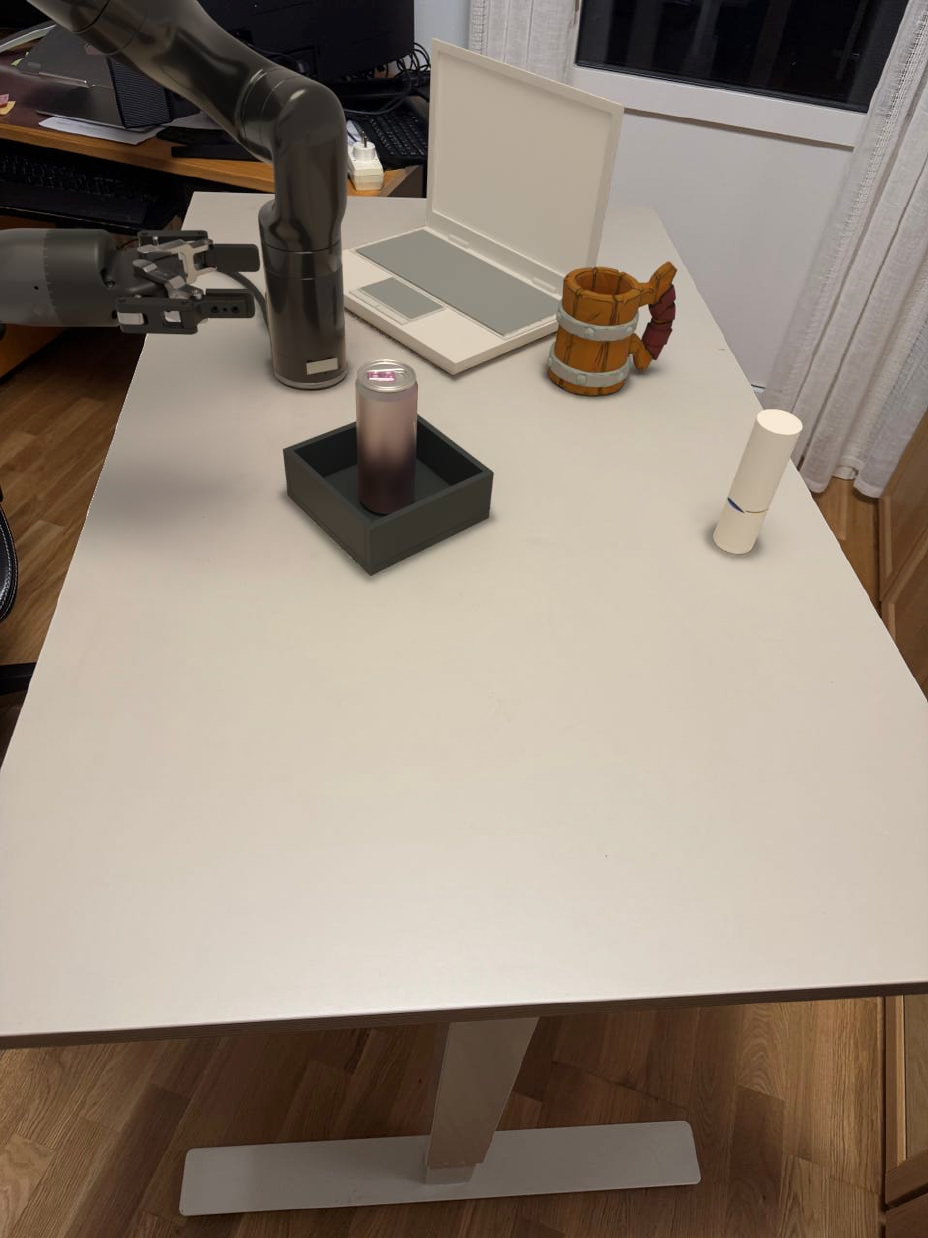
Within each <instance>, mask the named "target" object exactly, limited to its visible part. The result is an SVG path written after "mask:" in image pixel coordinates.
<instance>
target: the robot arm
mask: <svg viewBox="0 0 928 1238" xmlns="http://www.w3.org/2000/svg"><path fill="white" fill-rule="evenodd" d="M26 1H27V2H28V3H29V4H31V5H32V6H34V7H35V8H36V9H38V10H39V11H40V12H42V13H43V14H44V15H46V16H47V17H48V18H50V19H51V20H52V21H54V22H55V23H57V24H58V25H59V26H61V27H62V28H64V29H65V30H67V31H68V32H70V33H71V34H73V36H75V37H77V38H79V39H80V40H81V41H83V42H84V43H85V44H88V45H89V46H90V47H92V48H93V49H95V50H96V51H98V52H100V53H101V54H102V55H104V56H106V57H107V58H109V59H110V60H112V61H114V62H115V63H117V64H118V65H121V66H122V67H124V68H126V69H127V70H129V71H131V72H133V73H134V74H137V75H138V76H139V77H141V78H144V79H146V80H148V81H150V82H151V83H154V84H156V85H158V86H160V87H162V88H164V89H167V90H168V91H171V92H173V93H175V94H176V95H178V96H181V97H183V98H184V99H185V100H187V102H189V103H191V104H192V105H194V106H195V107H196V108H197V109H199V110H200V111H201V112H202V113H203V114H204V115H206V116H207V117H208V118H210V120H211V121H213V122H214V123H216V124H217V125H218V126H219V127H221V128H222V129H223V130H224V131H225V132H226V133H227V134H229V135H230V136H231V137H232V138H233V139H234V140H235V141H236V142H238V143H239V144H240V145H241V146H242V147H243V148H244V149H245V150H246V151H248V153H250V154H251V155H252V156H254V157H255V158H256V159H257V160H259V161H261V162H263V163H264V164H266V165H268V166H270V167H271V168H273V185H274V189H273V190H274V198H273V199H271V200H269V201H267V202H265V203H264V204H263V205H262V206H261V207H260V208H259V210H258V213H257V214H258V215H257V223H258V224H257V225H258V231H259V233H258V234H259V241H260V250H261V257H260V250H259V247H258V246H257V244H255V243H216V242H215V243H214V240H213V239H211V238H209V234H208V231H207V230H204V229H179V230H177V229H173V230H170V229H169V230H168V229H167V230H160V229H159V230H140V231H138V232H137V233H136V235H137V238H138V245H139V246H138V247H133V248H125V249H123V248H121V247H120V246H118V244H117V243H116V241H115V239H114V236H113V235H112V234H111V233H110V232H108V231H107V230H105V229H101V228H39V227H38V228H36V227H35V228H34V227H32V228H31V227H28V228H27V227H22V228H21V227H19V228H9V229H2V230H1V229H0V324H3V325H4V324H8V325H9V324H10V325H19V326H26V327H42V328H43V327H44V328H45V327H47V328H48V327H50V328H51V327H53V328H56V327H57V328H60V327H61V328H62V327H63V328H64V327H65V328H79V327H81V328H87V327H88V328H93V327H95V328H96V327H101V328H103V327H104V328H105V327H106V328H109V327H110V328H111V327H112V328H113V327H114V328H115V327H118V326H120V331H121V332H122V333H125V334H146V335H147V334H149V335H150V334H151V335H152V334H153V335H185V336H191V335H195V334H197V333H198V332H199V328H198V326H199V325H201V324H207V323H208V322H209V319H253V318H254V317H255V315H256V303H255V302H256V301H255V297H256V299H257V301H258V302H259V304H260V308H261V310H262V311H261V312H262V314H263V315H262V316H263V319H264V322H265V324H266V325H267V327H268V328H267V329H268V338H269V345H270V355H271V362H272V368H273V369H272V370H273V374H274V376H275V378H276V379H277V380H278V381H279V382H280V383H282V384H284V385H287V386H288V387H291V388H296V389H301V390H317V389H318V390H319V389H324V388H328V387H332V386H335V385H337V384H338V383H340V382H341V381H342V380H344V378H345V377H346V376H347V373H348V362H347V346H346V345H347V344H346V343H347V342H346V339H347V338H346V320H345V319H346V317H345V315H346V314H345V307H344V289H343V264H342V251H343V249H342V248H343V245H342V243H343V242H342V223H343V220H344V218H345V214H346V211H347V210H346V209H347V207H348V185H349V184H348V182H349V181H348V178H349V177H348V175H349V174H348V173H349V169H348V168H349V138H348V137H349V136H348V126H347V120H346V115H345V112H344V108H343V106H342V103H341V102H340V100H339V98H338V97H337V95H336V94H335V93H334V91H332V90H331V89H330V88H329V87H327V86H326V85H324V84H322V83H320V82H318V81H316V80H314V79H311V78H309V77H307V76H305V75H302V74H300V73H298V72H295V71H294V70H291V69H289V68H287V67H284V66H282V65H280V64H277V63H275V62H274V61H271V60H270V59H268V58H267V57H265V56H263V55H262V54H259V52H257V51H255V50H253V49H251V48H250V47H249V46H247V45H246V44H245V43H243V42H242V41H240V40H239V39H237V38H236V37H234V36H233V35H231V34H230V33H228V31H226V30H225V29H224V28H222V27H221V26H220V25H218V23H217V22H216V21H215V20H213V19H212V18H211V16H209V14H208V13H207V12H206V10H205V9H204V8H203V7H202V5H201V4H200V2H199V1H198V0H26ZM260 258H261V259H260ZM261 260H262V267H263V277H264V286H265V292H264V295H263V294H262V292H261V291H260V290H259V288H258V287H257V286H256V285H255V284H254V283H253V282H252V281H251V280H250V279H249V278H247V277H246V276H245V275H244V274H242V273H258V272H259V271H260V269H261ZM215 271H217V272H218V273H226V274H229V275H230V276H232V277H233V278H236V279H237V280H238V281H240V282H241V283H242V284H244V285H245V286H246V288H211V287H209V288H205V291H204V289H203V288H200V287H197V286H194V285H192V284H195V283H196V282H197V280H198V277H200V276H203V275H206V274H209V273H213V272H215ZM167 318H168V319H171V320H173V321H169V320H167Z"/></svg>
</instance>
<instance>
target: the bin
mask: <svg viewBox="0 0 928 1238" xmlns="http://www.w3.org/2000/svg"><path fill="white" fill-rule="evenodd" d="M282 456H283V465H284V474H285V483H286V493H287V496H288V497H289V498H290V499H291V500H292V501H293V502H294V503H295V504H297V505H298V507H300V509H301V510H302V511H304V512H305V513H306V515H308V516H309V517H310V518H311V520H313V521H314V523H316V524H317V525H318V526H319V527H320V528H321V529H322V530H323V531H324V532H326V534H327V535H328V536H330V538H331V539H333V540H334V541H335V542H336V543H337V544H338V545H339V546H340V547H341V549H343V550H344V551H345V552H346V553H347V554H348V555H349V556H350V557H351V558H352V559H353V560H354V561H355V562H356V563H357V564H358V565H359V566H360V567H361V568H362V569H363V570H364V571H366V572H367V574H368V575H370V576H372V575H374V574H376V573H379V572H381V571H382V570H384V569H386V568H389V567H390V566H393V565H395V564H397V563H399V562H401V561H404V560H405V559H407V558H409V557H411V556H413V555H416V554H417V553H419V552H421V551H423V550H426V549H427V548H430V547H431V546H434V545H436V544H437V543H440V542H442V541H444V540H446V539H448V538H450V537H453V536H454V535H456V534H458V533H460V532H462V531H464V530H467V529H468V528H471V527H472V526H474V525H476V524H478V523H479V524H480V523H481V522H482V521H485V520H487V519H489V518H490V512H491V503H492V494H493V485H494V476H495V475H494V474H495V473H494V471H493V470H492V469H490V468H489V467H488V466H486V465H485V464H484V463H482V462H481V461H480V460H479V459H478V458H476V457H475V456H473V455H472V454H471V453H469V452H468V451H467V450H465V448H463V447H462V446H461V445H459V444H458V443H456V442H455V441H454V440H452V439H451V438H450V437H448V436H447V435H446V434H445V433H443V432H442V431H441V430H440V429H438V427H436V426H434V425H433V424H432V423H430V422H429V421H428V420H426V419H425V418H424V417H422V416H421V415H420V414H419V413H417V437H416V470H415V497H414V500H413V502H412V503H411V504H410V505H409V506H406V507H404V508H402V509H400V510H398V511H395V512H393V513H391V514H389V515H384V514H378V513H375V512H372V511H371V510H369V509H367V508H366V507H365V506H364V505H363V503H362V502H361V500H360V498H359V490H358V458H357V426H356V420H355V421H353V422H350V423H347V424H345V425H343V426H340V427H337V428H335V429H332V430H328V431H327V432H324V433H322V434H318V435H316V436H313V437H310V438H308V439H305V440H302V441H300V442H297V443H295V444H292V445H289V446H287V447H285V448H282Z"/></svg>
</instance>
